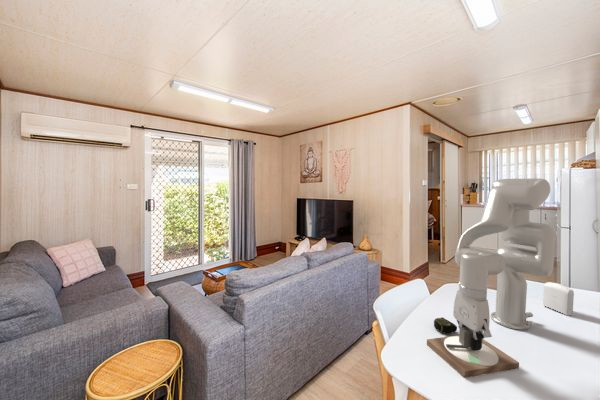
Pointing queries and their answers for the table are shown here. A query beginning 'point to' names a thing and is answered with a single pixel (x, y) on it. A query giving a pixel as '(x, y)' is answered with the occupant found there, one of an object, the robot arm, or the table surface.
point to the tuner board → (469, 368)
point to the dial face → (472, 353)
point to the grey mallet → (464, 338)
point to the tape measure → (444, 325)
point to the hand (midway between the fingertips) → (470, 344)
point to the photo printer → (558, 298)
